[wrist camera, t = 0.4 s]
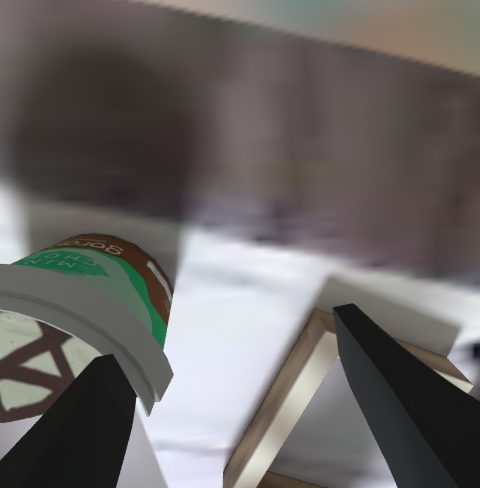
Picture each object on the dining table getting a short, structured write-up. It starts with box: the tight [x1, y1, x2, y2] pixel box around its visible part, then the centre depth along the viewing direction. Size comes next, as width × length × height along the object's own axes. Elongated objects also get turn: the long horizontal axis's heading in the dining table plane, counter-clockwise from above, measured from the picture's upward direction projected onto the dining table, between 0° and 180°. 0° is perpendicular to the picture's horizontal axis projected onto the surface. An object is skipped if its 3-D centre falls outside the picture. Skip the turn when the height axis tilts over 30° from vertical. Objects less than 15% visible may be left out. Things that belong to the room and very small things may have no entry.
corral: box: [223, 309, 474, 488], centre depth 23 cm, size 17×11×3 cm, turn 157°
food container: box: [0, 234, 174, 423], centre depth 15 cm, size 12×6×10 cm, turn 99°
